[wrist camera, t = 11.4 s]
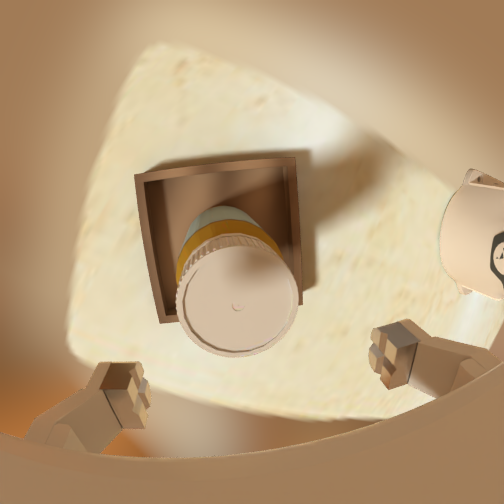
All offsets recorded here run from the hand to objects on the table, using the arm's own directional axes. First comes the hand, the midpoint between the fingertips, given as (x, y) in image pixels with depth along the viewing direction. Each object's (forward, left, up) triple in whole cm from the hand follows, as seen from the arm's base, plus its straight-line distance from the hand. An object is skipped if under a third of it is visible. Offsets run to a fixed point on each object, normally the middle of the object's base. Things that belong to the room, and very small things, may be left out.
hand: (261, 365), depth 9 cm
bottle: (0, 0, -20) cm, 20 cm away
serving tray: (0, 0, -21) cm, 21 cm away
